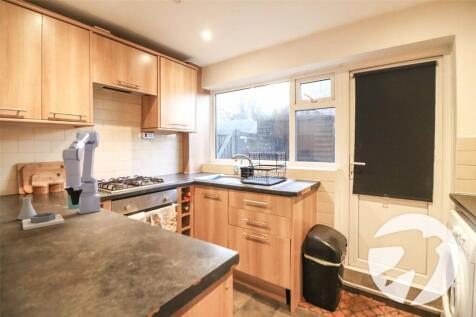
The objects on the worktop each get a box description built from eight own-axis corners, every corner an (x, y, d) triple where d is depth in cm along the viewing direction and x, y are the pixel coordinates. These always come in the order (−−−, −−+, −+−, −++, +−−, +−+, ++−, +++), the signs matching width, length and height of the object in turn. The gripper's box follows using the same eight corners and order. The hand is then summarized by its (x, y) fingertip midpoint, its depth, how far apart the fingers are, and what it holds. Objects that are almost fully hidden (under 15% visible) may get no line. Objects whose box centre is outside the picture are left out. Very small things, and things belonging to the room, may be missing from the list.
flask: (41, 216, 122) (40, 196, 121) (27, 220, 114) (26, 199, 114) (28, 215, 122) (27, 196, 122) (13, 220, 115) (12, 199, 115)
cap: (79, 206, 115) (79, 193, 115) (81, 208, 112) (81, 195, 112) (67, 208, 112) (66, 195, 112) (69, 210, 109) (68, 196, 108)
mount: (60, 216, 121) (59, 209, 120) (64, 222, 110) (63, 215, 110) (22, 222, 111) (22, 215, 111) (23, 230, 101) (22, 222, 101)
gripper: (86, 175, 109) (87, 205, 109) (80, 172, 119) (81, 199, 120) (67, 176, 104) (69, 207, 105) (62, 173, 115) (64, 202, 115)
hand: (74, 203), depth 112 cm, fingers closed on cap, 5 cm apart
